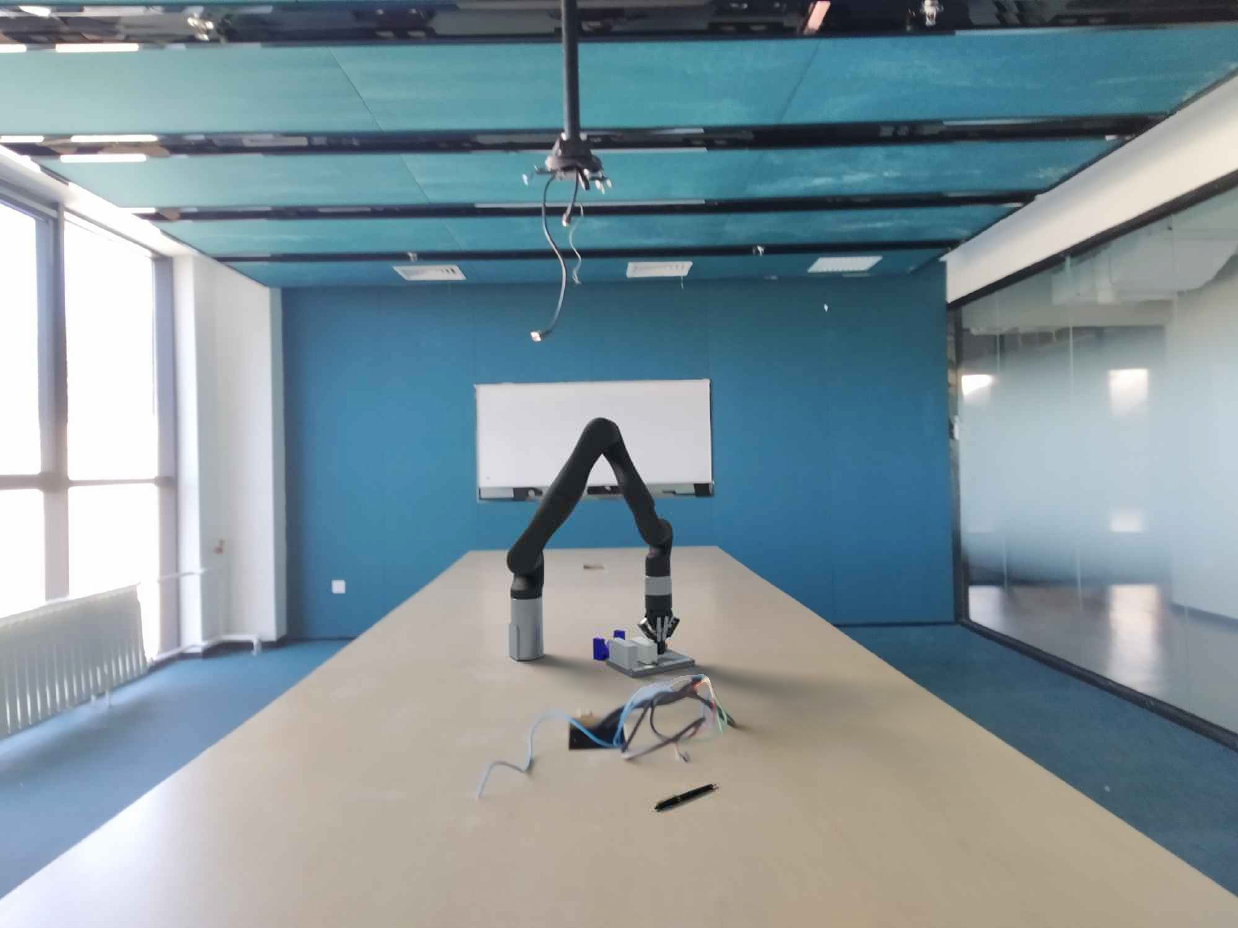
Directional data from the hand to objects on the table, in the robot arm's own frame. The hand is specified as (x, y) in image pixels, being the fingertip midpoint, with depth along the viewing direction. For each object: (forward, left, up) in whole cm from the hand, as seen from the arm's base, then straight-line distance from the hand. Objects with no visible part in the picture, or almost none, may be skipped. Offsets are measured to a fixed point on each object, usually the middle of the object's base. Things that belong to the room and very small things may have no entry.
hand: (659, 653), depth 196 cm
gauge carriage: (-5, -1, -1) cm, 5 cm away
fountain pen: (-38, -67, -3) cm, 77 cm away
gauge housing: (-3, 0, -3) cm, 4 cm away
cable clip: (-8, +16, -3) cm, 18 cm away
